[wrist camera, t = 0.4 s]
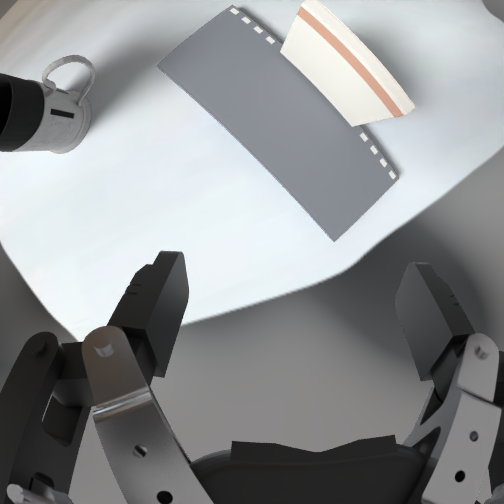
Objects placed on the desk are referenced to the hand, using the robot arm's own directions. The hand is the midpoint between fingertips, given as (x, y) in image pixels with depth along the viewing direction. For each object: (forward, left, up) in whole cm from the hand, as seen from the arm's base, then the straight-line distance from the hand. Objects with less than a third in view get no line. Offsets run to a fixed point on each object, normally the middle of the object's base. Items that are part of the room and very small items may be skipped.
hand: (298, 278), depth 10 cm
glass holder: (-20, -15, -25) cm, 36 cm away
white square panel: (-9, +13, -24) cm, 28 cm away
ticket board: (-7, +7, -25) cm, 27 cm away
